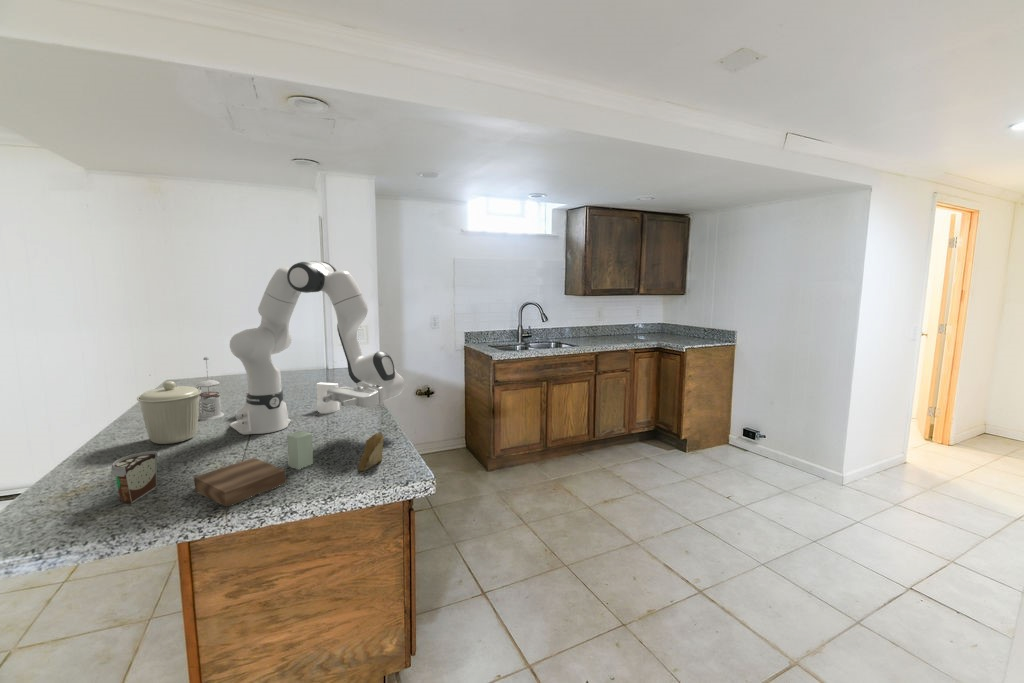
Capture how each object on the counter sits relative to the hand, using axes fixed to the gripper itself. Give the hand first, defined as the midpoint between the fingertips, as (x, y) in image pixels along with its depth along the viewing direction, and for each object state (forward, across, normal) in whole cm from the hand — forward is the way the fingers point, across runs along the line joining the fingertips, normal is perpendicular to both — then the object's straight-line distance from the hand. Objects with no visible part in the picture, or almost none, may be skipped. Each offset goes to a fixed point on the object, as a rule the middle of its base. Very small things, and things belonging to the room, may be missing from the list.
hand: (332, 401), depth 148 cm
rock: (0, +16, +18) cm, 24 cm away
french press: (+3, -76, +17) cm, 78 cm away
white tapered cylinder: (-30, -43, +17) cm, 55 cm away
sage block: (+12, 0, +18) cm, 21 cm away
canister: (+23, -58, +17) cm, 64 cm away
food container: (+48, -20, +17) cm, 55 cm away
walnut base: (+30, 0, +17) cm, 35 cm away
